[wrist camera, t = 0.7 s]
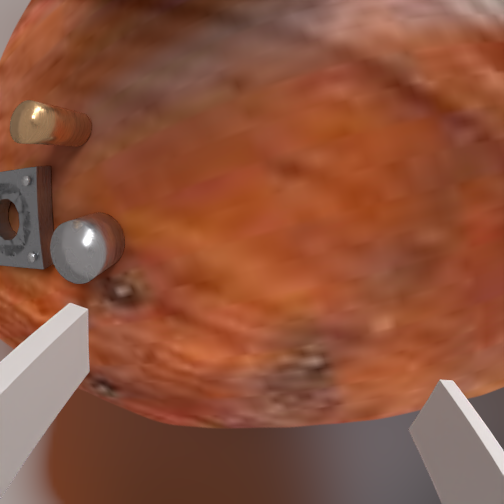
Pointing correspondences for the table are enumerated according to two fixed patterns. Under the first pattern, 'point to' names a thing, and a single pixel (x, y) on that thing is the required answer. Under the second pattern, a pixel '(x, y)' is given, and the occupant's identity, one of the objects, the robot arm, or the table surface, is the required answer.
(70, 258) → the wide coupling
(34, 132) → the brass peg
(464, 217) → the table surface
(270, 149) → the table surface
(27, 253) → the flange socket
